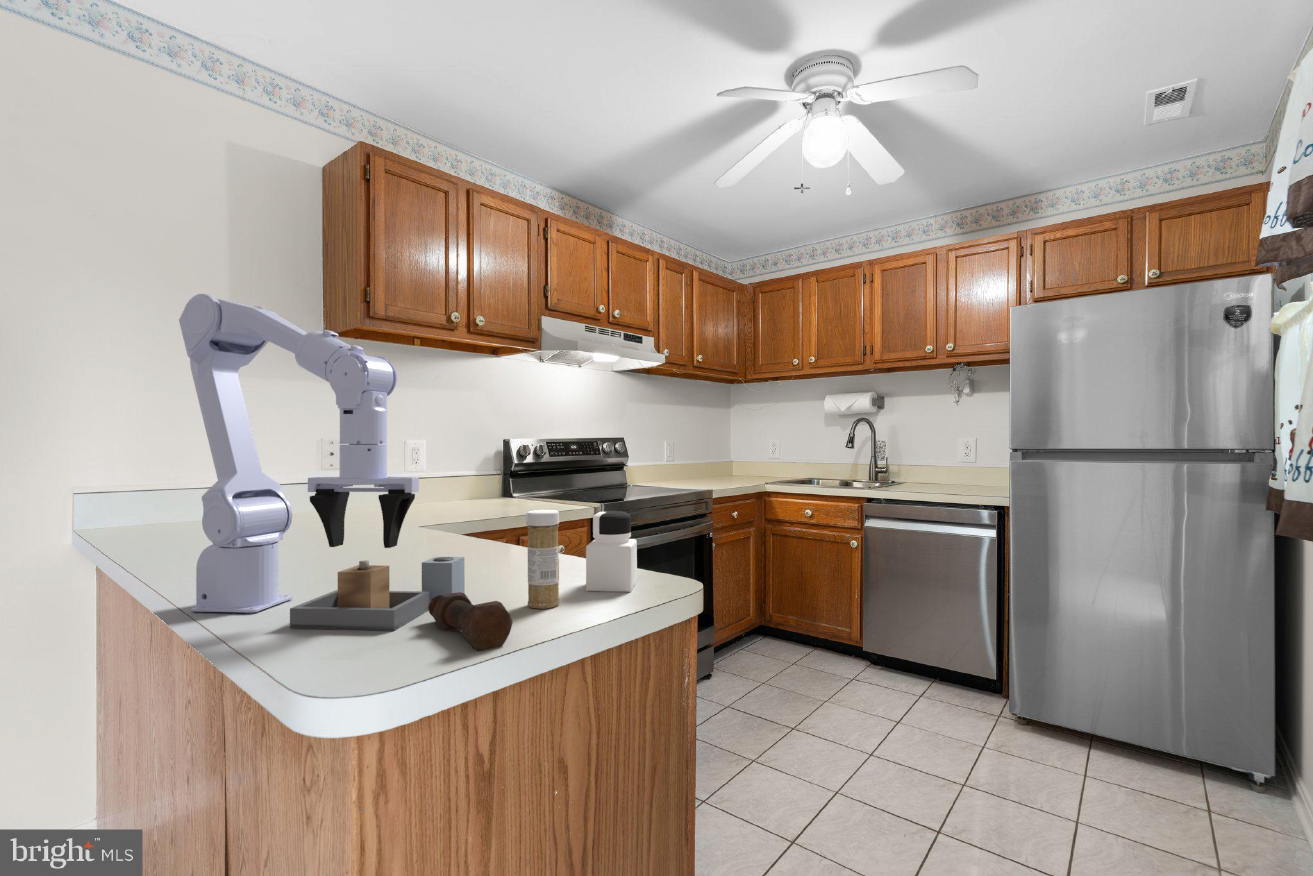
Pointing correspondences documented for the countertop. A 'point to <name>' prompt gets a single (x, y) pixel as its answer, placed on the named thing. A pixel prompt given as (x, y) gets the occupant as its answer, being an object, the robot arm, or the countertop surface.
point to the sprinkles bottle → (543, 558)
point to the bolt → (472, 620)
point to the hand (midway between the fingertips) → (363, 546)
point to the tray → (359, 612)
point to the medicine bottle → (611, 554)
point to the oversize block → (443, 576)
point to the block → (364, 586)
